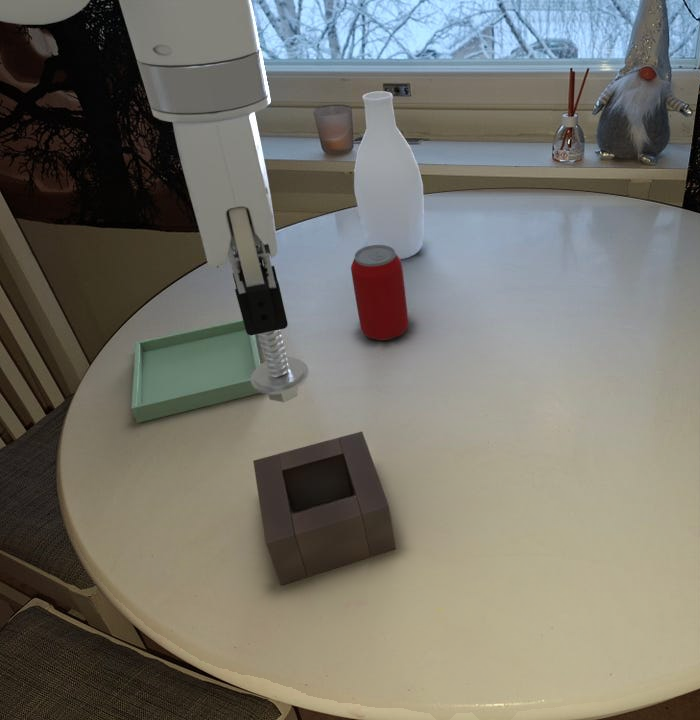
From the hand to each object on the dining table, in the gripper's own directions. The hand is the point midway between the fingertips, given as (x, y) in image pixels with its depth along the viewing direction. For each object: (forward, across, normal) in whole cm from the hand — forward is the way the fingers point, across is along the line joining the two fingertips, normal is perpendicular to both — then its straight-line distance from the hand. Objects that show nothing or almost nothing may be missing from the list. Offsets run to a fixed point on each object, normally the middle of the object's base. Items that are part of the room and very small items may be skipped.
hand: (265, 320), depth 55 cm
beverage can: (+23, -30, +15) cm, 41 cm away
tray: (+24, -30, -10) cm, 40 cm away
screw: (+8, 0, 0) cm, 8 cm away
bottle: (+23, -54, +23) cm, 64 cm away
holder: (+24, +2, +1) cm, 24 cm away
